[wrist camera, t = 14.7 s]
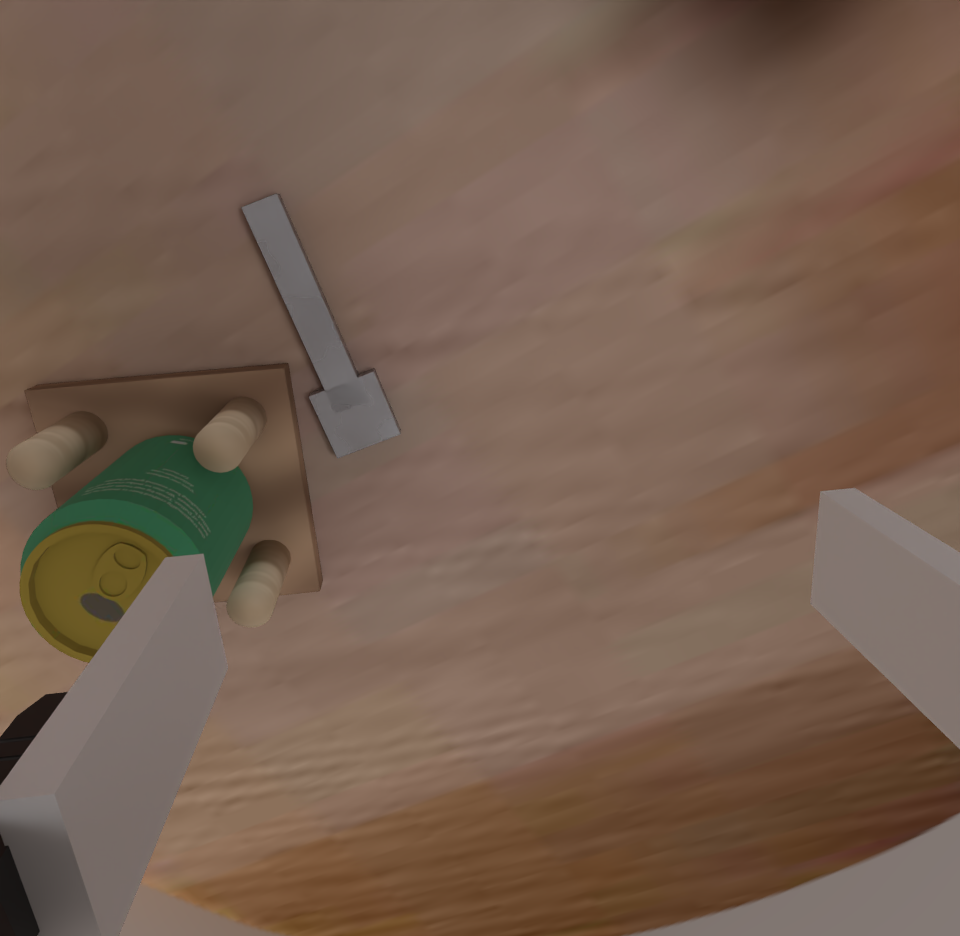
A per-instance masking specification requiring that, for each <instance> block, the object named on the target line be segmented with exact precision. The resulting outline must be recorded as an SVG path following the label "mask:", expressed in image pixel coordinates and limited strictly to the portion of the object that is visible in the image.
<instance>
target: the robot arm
mask: <svg viewBox="0 0 960 936" xmlns="http://www.w3.org/2000/svg"><path fill="white" fill-rule="evenodd" d="M810 604H811V605H812V606H813V607H814V608H815V609H816V610H817V611H818V612H819V613H821V614H822V615H823V616H824V617H825V618H826V619H827V620H828V621H829V622H830V623H831V624H832V625H833V626H834V627H835V628H836V629H837V630H838V631H839V632H840V633H841V634H842V635H843V636H844V637H845V638H846V639H847V640H848V641H849V642H850V643H851V644H852V645H853V646H854V647H855V648H856V649H858V650H859V651H860V652H861V653H862V654H863V655H864V656H865V657H866V658H867V659H868V660H869V661H870V662H871V663H872V664H873V665H874V666H875V667H876V668H877V669H878V670H879V671H880V672H881V673H882V674H883V675H884V676H885V677H886V678H887V679H888V680H889V681H890V682H891V683H892V684H893V685H895V686H896V687H897V688H898V689H899V690H900V691H901V692H902V693H903V694H904V695H905V696H906V697H907V698H908V699H909V700H910V701H911V702H912V703H913V704H914V705H915V706H916V707H917V708H918V709H919V710H920V711H921V712H922V713H923V714H924V715H925V716H926V717H927V718H928V719H929V720H930V721H932V722H933V723H934V724H935V725H936V726H937V727H938V728H939V729H940V730H941V731H942V732H943V733H944V734H945V735H946V736H947V737H948V738H949V739H950V740H951V741H952V742H953V743H954V744H955V745H956V746H957V747H958V748H959V749H960V552H958V551H956V550H955V549H953V548H951V547H950V546H948V545H947V544H945V543H943V542H942V541H940V540H938V539H937V538H935V537H934V536H932V535H930V534H929V533H927V532H925V531H924V530H922V529H921V528H919V527H917V526H916V525H914V524H912V523H911V522H909V521H908V520H906V519H904V518H903V517H901V516H899V515H898V514H896V513H894V512H893V511H891V510H890V509H888V508H886V507H885V506H883V505H881V504H880V503H878V502H877V501H875V500H873V499H872V498H870V497H868V496H867V495H865V494H864V493H862V492H860V491H859V490H857V489H855V488H850V489H840V490H830V491H820V503H819V514H818V525H817V536H816V547H815V559H814V570H813V581H812V592H811V603H810ZM227 669H228V665H227V660H226V656H225V651H224V646H223V642H222V637H221V633H220V628H219V623H218V619H217V614H216V609H215V605H214V600H213V596H212V591H211V586H210V582H209V577H208V573H207V568H206V563H205V559H204V554H195V555H185V556H175V557H165V559H164V560H163V561H162V563H161V564H160V566H159V567H158V568H157V570H156V571H155V573H154V574H153V575H152V577H151V578H150V579H149V581H148V582H147V584H146V585H145V586H144V588H143V589H142V590H141V592H140V593H139V595H138V596H137V597H136V599H135V600H134V602H133V603H132V604H131V606H130V607H129V608H128V610H127V611H126V613H125V614H124V615H123V617H122V618H121V619H120V621H119V622H118V624H117V625H116V626H115V628H114V629H113V631H112V632H111V633H110V635H109V636H108V637H107V639H106V640H105V642H104V643H103V644H102V646H101V647H100V649H99V650H98V651H97V653H96V654H95V655H94V657H93V658H92V660H91V661H90V662H89V664H88V665H87V666H86V668H85V669H84V671H83V672H82V673H81V675H80V676H79V678H78V679H77V680H76V682H75V683H74V684H73V686H72V687H71V689H70V690H69V691H68V692H64V693H55V694H46V695H45V696H43V697H42V698H40V699H39V700H38V701H36V702H35V703H34V704H32V705H31V706H30V707H28V708H27V709H26V710H24V711H23V712H22V713H20V714H19V715H18V716H17V717H16V718H15V719H14V720H13V722H12V723H11V724H10V726H9V727H8V728H7V729H6V731H5V732H4V733H3V734H2V736H1V737H0V936H119V934H120V932H121V929H122V927H123V924H124V922H125V919H126V917H127V914H128V912H129V909H130V907H131V905H132V902H133V900H134V897H135V895H136V892H137V890H138V887H139V885H140V883H141V880H142V878H143V875H144V873H145V870H146V868H147V865H148V863H149V861H150V858H151V856H152V853H153V851H154V848H155V846H156V843H157V841H158V838H159V836H160V834H161V831H162V829H163V826H164V824H165V821H166V819H167V816H168V814H169V812H170V809H171V807H172V804H173V802H174V799H175V797H176V794H177V792H178V789H179V787H180V785H181V782H182V780H183V777H184V775H185V772H186V770H187V767H188V765H189V763H190V760H191V758H192V755H193V753H194V750H195V748H196V745H197V743H198V740H199V738H200V736H201V733H202V731H203V728H204V726H205V723H206V721H207V718H208V716H209V714H210V711H211V709H212V706H213V704H214V701H215V699H216V696H217V694H218V691H219V689H220V687H221V684H222V682H223V679H224V677H225V674H226V672H227Z"/></svg>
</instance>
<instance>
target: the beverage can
mask: <svg viewBox="0 0 960 936" xmlns="http://www.w3.org/2000/svg"><path fill="white" fill-rule="evenodd" d="M194 439H195V438H193V437H187V436H181V435H166V436H159V437H154V438H151V439H148V440H145V441H143V442H141V443H139V444H137V445H135V446H134V447H132V448H131V449H129V450H128V451H127V452H125V453H124V454H123V455H122V456H121V457H119V458H118V459H117V460H116V461H115V462H113V463H112V464H111V465H110V466H109V467H107V468H106V469H105V470H104V471H102V472H101V473H100V474H99V475H98V476H96V477H95V478H94V479H93V480H92V481H90V482H89V483H88V484H87V485H86V486H84V487H83V488H82V489H81V490H80V491H78V492H77V493H76V494H75V495H73V496H72V497H71V498H70V499H69V500H67V501H66V502H65V503H64V504H63V505H61V506H60V507H59V508H58V509H57V510H55V511H54V512H53V513H52V514H51V515H49V516H48V517H47V518H46V519H44V520H43V521H42V522H41V524H40V525H39V526H38V527H37V528H36V529H35V530H34V531H33V533H32V535H31V536H30V538H29V539H28V541H27V543H26V546H25V548H24V551H23V555H22V560H21V578H20V597H21V602H22V606H23V608H24V611H25V613H26V616H27V617H28V619H29V621H30V623H31V624H32V626H33V627H34V628H35V630H36V631H37V632H38V633H39V634H40V636H42V637H43V638H44V639H45V640H46V641H47V642H48V643H49V644H51V645H52V646H53V647H55V648H56V649H58V650H59V651H61V652H63V653H65V654H67V655H68V656H70V657H73V658H76V659H78V660H81V661H84V662H88V663H89V662H90V661H91V660H92V658H93V657H94V655H95V654H96V653H97V651H98V650H99V649H100V647H101V646H102V644H103V643H104V642H105V640H106V639H107V637H108V636H109V635H110V633H111V632H112V631H113V629H114V628H115V626H116V625H117V624H118V622H119V621H120V619H121V618H122V617H123V615H124V614H125V613H126V611H127V610H128V608H129V607H130V606H131V604H132V603H133V602H134V600H135V599H136V597H137V596H138V595H139V593H140V592H141V590H142V589H143V588H144V586H145V585H146V584H147V582H148V581H149V579H150V578H151V577H152V575H153V574H154V573H155V571H156V570H157V568H158V567H159V566H160V564H161V563H162V561H163V560H164V559H165V557H175V556H185V555H195V554H204V559H205V563H206V568H207V573H208V577H209V582H210V586H211V591H212V596H214V594H215V592H216V591H217V589H218V587H219V585H220V583H221V581H222V579H223V577H224V575H225V573H226V571H227V570H228V568H229V566H230V564H231V562H232V560H233V558H234V556H235V554H236V552H237V550H238V548H239V547H240V545H241V543H242V541H243V539H244V537H245V535H246V533H247V531H248V529H249V527H250V523H251V520H252V514H253V499H252V494H251V490H250V486H249V484H248V482H247V479H246V477H245V476H244V474H243V472H242V471H241V469H240V468H239V467H238V466H237V467H236V468H234V469H233V470H231V471H228V472H223V473H218V472H213V471H210V470H208V469H206V468H204V467H203V466H202V465H201V464H200V463H199V462H198V461H197V459H196V458H195V455H194V452H193V442H194Z"/></svg>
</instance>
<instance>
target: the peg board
mask: <svg viewBox="0 0 960 936" xmlns="http://www.w3.org/2000/svg"><path fill="white" fill-rule="evenodd" d="M25 394H26V398H27V401H28V405H29V408H30V412H31V415H32V419H33V423H34V426H35V430H36V433H37V434H36V435H34V436H32V437H31V438H29V439H27V440H25V441H24V442H22V443H20V444H18V445H17V446H15V447H14V448H12V449H11V451H10V452H9V453H8V456H7V459H6V467H7V470H8V473H9V474H10V476H11V477H12V479H13V480H14V481H15V482H16V483H18V484H19V485H21V486H23V487H25V488H28V489H32V490H42V489H46V488H48V487H50V486H52V490H53V493H54V497H55V500H56V504H57V507H58V508H59V507H60V506H61V505H63V504H64V503H65V502H66V501H67V500H69V499H70V498H71V497H72V496H73V495H75V494H76V493H77V492H78V491H80V490H81V489H82V488H83V487H84V486H86V485H87V484H88V483H89V482H90V481H92V480H93V479H94V478H95V477H96V476H98V475H99V474H100V473H101V472H102V471H104V470H105V469H106V468H107V467H109V466H110V465H111V464H112V463H113V462H115V461H116V460H117V459H118V458H119V457H121V456H122V455H123V454H124V453H125V452H127V451H128V450H129V449H131V448H132V447H134V446H135V445H137V444H139V443H141V442H143V441H145V440H148V439H151V438H154V437H159V436H166V435H181V436H187V437H193V438H195V439H194V442H193V452H194V455H195V458H196V459H197V461H198V462H199V463H200V464H201V465H202V466H203V467H204V468H206V469H208V470H210V471H213V472H218V473H223V472H228V471H231V470H233V469H234V468H236V467H237V466H238V467H239V468H240V469H241V471H242V472H243V474H244V476H245V477H246V479H247V482H248V484H249V486H250V490H251V494H252V499H253V514H252V520H251V523H250V527H249V529H248V531H247V533H246V535H245V537H244V539H243V541H242V543H241V545H240V547H239V548H238V550H237V552H236V554H235V556H234V558H233V560H232V562H231V564H230V566H229V568H228V570H227V571H226V573H225V575H224V577H223V579H222V581H221V583H220V585H219V587H218V589H217V591H216V592H215V594H214V596H213V600H214V602H222V601H227V607H226V608H227V612H228V615H229V616H230V618H231V619H232V620H233V621H234V622H235V623H237V624H238V625H241V626H244V627H250V628H252V627H258V626H261V625H263V624H265V623H266V622H267V621H268V620H269V619H270V618H271V616H272V613H273V610H274V607H275V605H276V602H277V599H278V596H279V595H289V594H298V593H308V592H317V591H320V589H321V585H322V581H323V578H322V572H321V565H320V559H319V553H318V547H317V540H316V534H315V528H314V521H313V515H312V509H311V503H310V496H309V490H308V484H307V478H306V471H305V465H304V459H303V452H302V446H301V440H300V434H299V427H298V421H297V415H296V408H295V402H294V396H293V390H292V383H291V377H290V371H289V364H288V363H284V364H272V365H261V366H249V367H238V368H226V369H214V370H203V371H191V372H180V373H168V374H156V375H145V376H133V377H122V378H110V379H98V380H87V381H75V382H64V383H52V384H41V385H36V386H34V387H32V388H29V389H27V390H25Z"/></svg>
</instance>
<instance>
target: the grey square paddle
mask: <svg viewBox="0 0 960 936" xmlns="http://www.w3.org/2000/svg"><path fill="white" fill-rule="evenodd" d="M241 208H242V210H243V212H244V214H245V217H246V219H247V221H248V223H249V225H250V228H251V230H252V232H253V234H254V236H255V239H256V241H257V243H258V245H259V247H260V250H261V252H262V254H263V256H264V258H265V260H266V263H267V265H268V267H269V269H270V271H271V274H272V276H273V278H274V280H275V282H276V285H277V287H278V289H279V291H280V293H281V296H282V298H283V300H284V302H285V304H286V306H287V309H288V311H289V313H290V315H291V317H292V320H293V322H294V324H295V326H296V328H297V331H298V333H299V335H300V337H301V339H302V341H303V344H304V346H305V348H306V350H307V352H308V355H309V357H310V359H311V361H312V363H313V366H314V368H315V370H316V372H317V374H318V377H319V379H320V381H321V383H322V385H323V387H324V388H322V389H319V390H317V391H314V392H312V393H310V395H309V399H310V401H311V403H312V405H313V407H314V409H315V411H316V414H317V416H318V418H319V420H320V422H321V424H322V426H323V429H324V431H325V433H326V435H327V437H328V439H329V441H330V444H331V446H332V448H333V450H334V452H335V454H336V456H337V458H340V457H342V456H345V455H348V454H350V453H353V452H355V451H358V450H361V449H363V448H366V447H368V446H371V445H374V444H376V443H379V442H381V441H384V440H387V439H389V438H392V437H394V436H397V435H400V433H401V429H400V427H399V424H398V422H397V420H396V417H395V415H394V413H393V410H392V408H391V406H390V403H389V401H388V399H387V396H386V394H385V392H384V389H383V387H382V385H381V382H380V380H379V378H378V375H377V373H376V371H375V368H373V369H371V370H368V371H366V372H363V373H361V374H358V372H357V370H356V367H355V365H354V363H353V360H352V358H351V356H350V354H349V351H348V349H347V347H346V344H345V342H344V340H343V338H342V335H341V333H340V331H339V328H338V326H337V324H336V322H335V319H334V317H333V315H332V312H331V310H330V308H329V305H328V303H327V301H326V299H325V296H324V294H323V292H322V289H321V287H320V285H319V283H318V280H317V278H316V276H315V273H314V271H313V269H312V267H311V264H310V262H309V260H308V257H307V255H306V253H305V250H304V248H303V246H302V244H301V241H300V239H299V237H298V234H297V232H296V230H295V228H294V225H293V223H292V221H291V218H290V216H289V214H288V212H287V209H286V207H285V205H284V202H283V200H282V198H281V195H280V194H274V195H272V196H269V197H266V198H264V199H261V200H259V201H256V202H254V203H251V204H249V205H246V206H244V207H241Z"/></svg>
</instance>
